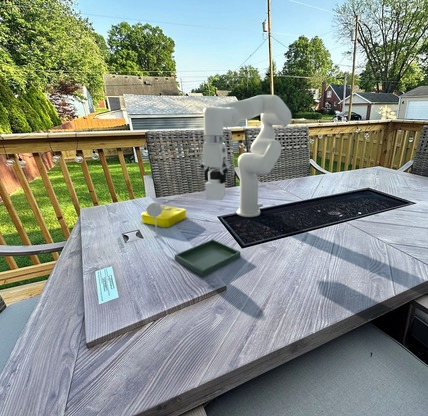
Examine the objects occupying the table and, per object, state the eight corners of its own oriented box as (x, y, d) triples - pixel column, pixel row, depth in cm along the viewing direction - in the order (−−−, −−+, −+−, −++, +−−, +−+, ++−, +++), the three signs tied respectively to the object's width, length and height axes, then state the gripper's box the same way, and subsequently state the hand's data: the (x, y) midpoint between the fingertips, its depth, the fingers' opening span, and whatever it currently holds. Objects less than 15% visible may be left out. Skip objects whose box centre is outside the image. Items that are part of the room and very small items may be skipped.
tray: (213, 243, 105) (213, 238, 104) (240, 256, 96) (240, 251, 95) (175, 260, 92) (174, 254, 91) (202, 277, 83) (202, 271, 82)
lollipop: (168, 235, 110) (165, 201, 105) (158, 241, 104) (154, 205, 99) (156, 232, 112) (152, 199, 107) (145, 238, 106) (141, 203, 101)
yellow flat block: (140, 222, 121) (139, 212, 119) (163, 212, 134) (162, 203, 132) (166, 228, 116) (165, 218, 114) (187, 217, 129) (187, 208, 128)
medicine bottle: (225, 195, 118) (224, 169, 114) (222, 200, 112) (221, 172, 108) (209, 194, 118) (208, 168, 114) (205, 199, 112) (204, 171, 108)
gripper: (237, 140, 106) (237, 182, 112) (203, 137, 113) (205, 177, 119) (226, 141, 100) (226, 186, 106) (191, 138, 107) (193, 180, 113)
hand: (215, 181), depth 113 cm, fingers closed on medicine bottle, 7 cm apart
